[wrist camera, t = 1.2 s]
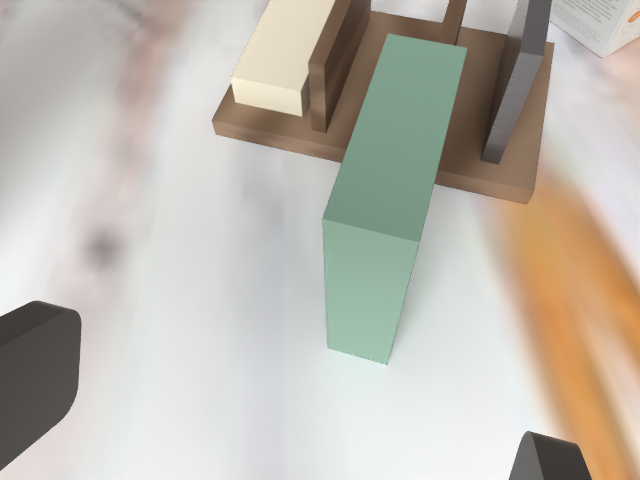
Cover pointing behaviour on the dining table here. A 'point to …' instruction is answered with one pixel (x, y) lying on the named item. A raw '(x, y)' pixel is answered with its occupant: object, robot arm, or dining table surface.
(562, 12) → the small box
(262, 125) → the book rack
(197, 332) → the dining table surface
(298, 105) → the toppled book
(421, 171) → the book
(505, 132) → the bookend
